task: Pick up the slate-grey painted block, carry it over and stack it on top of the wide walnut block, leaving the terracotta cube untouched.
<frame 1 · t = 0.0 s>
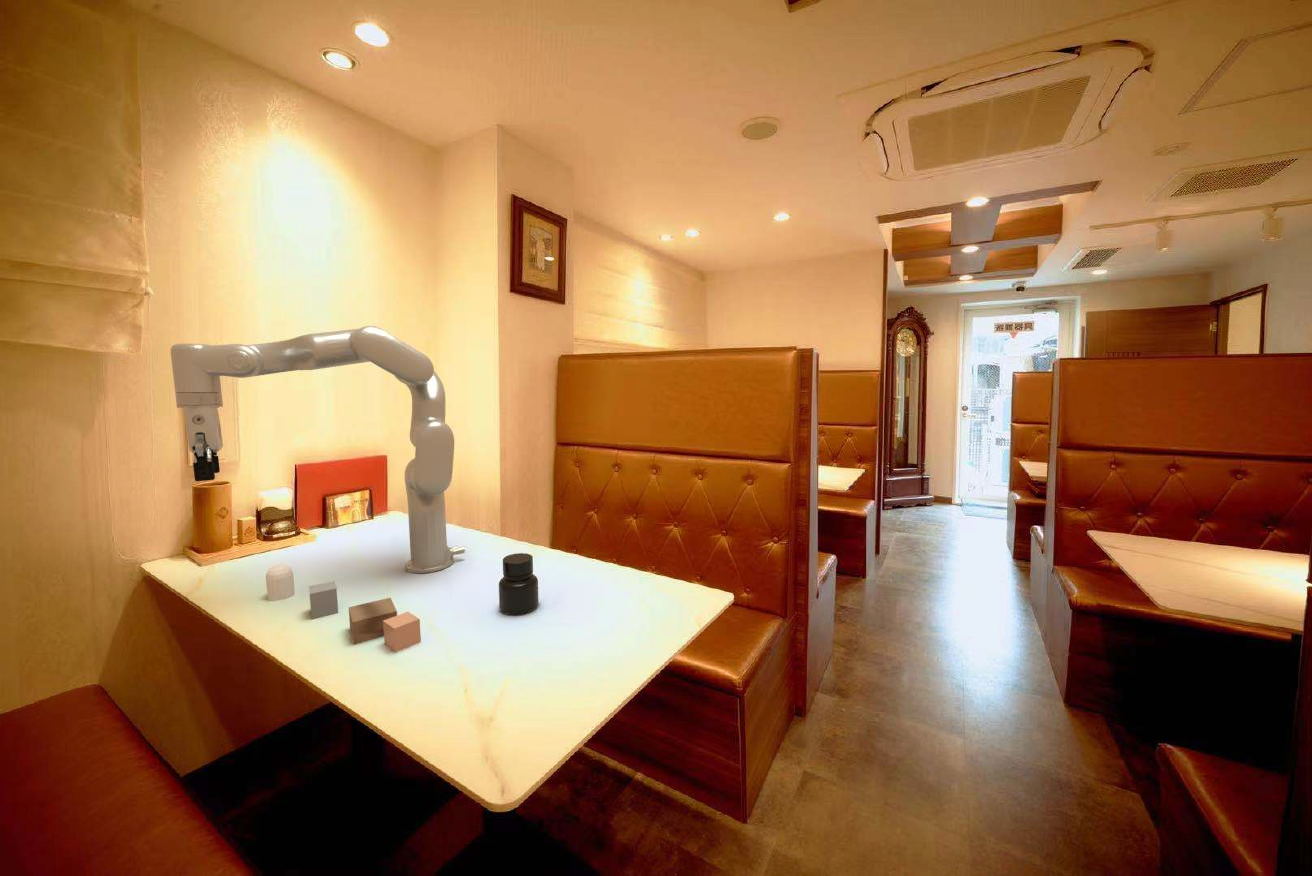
hand: (208, 476, 110), 31 cm above the table, fingers open, 9 cm apart
walnut block: (374, 631, 105), on the table
ink bottle: (519, 607, 116), on the table
grey block: (324, 612, 113), on the table
terracotta cube: (402, 643, 100), on the table
capsule: (281, 596, 121), on the table
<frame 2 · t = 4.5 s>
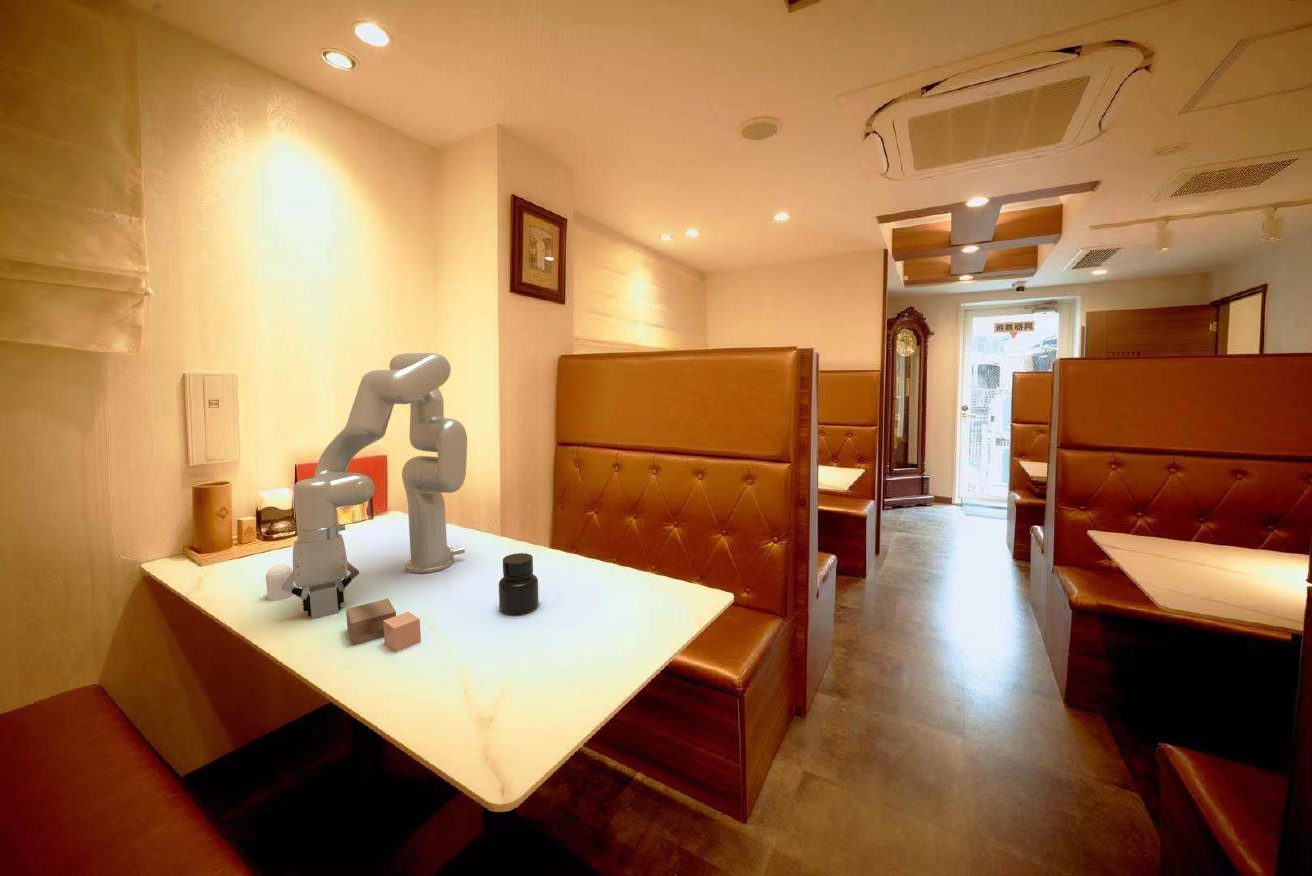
hand: (324, 609, 113), 1 cm above the table, fingers closed on grey block, 5 cm apart
grey block: (324, 612, 113), on the table, touching gripper
everything else where it was.
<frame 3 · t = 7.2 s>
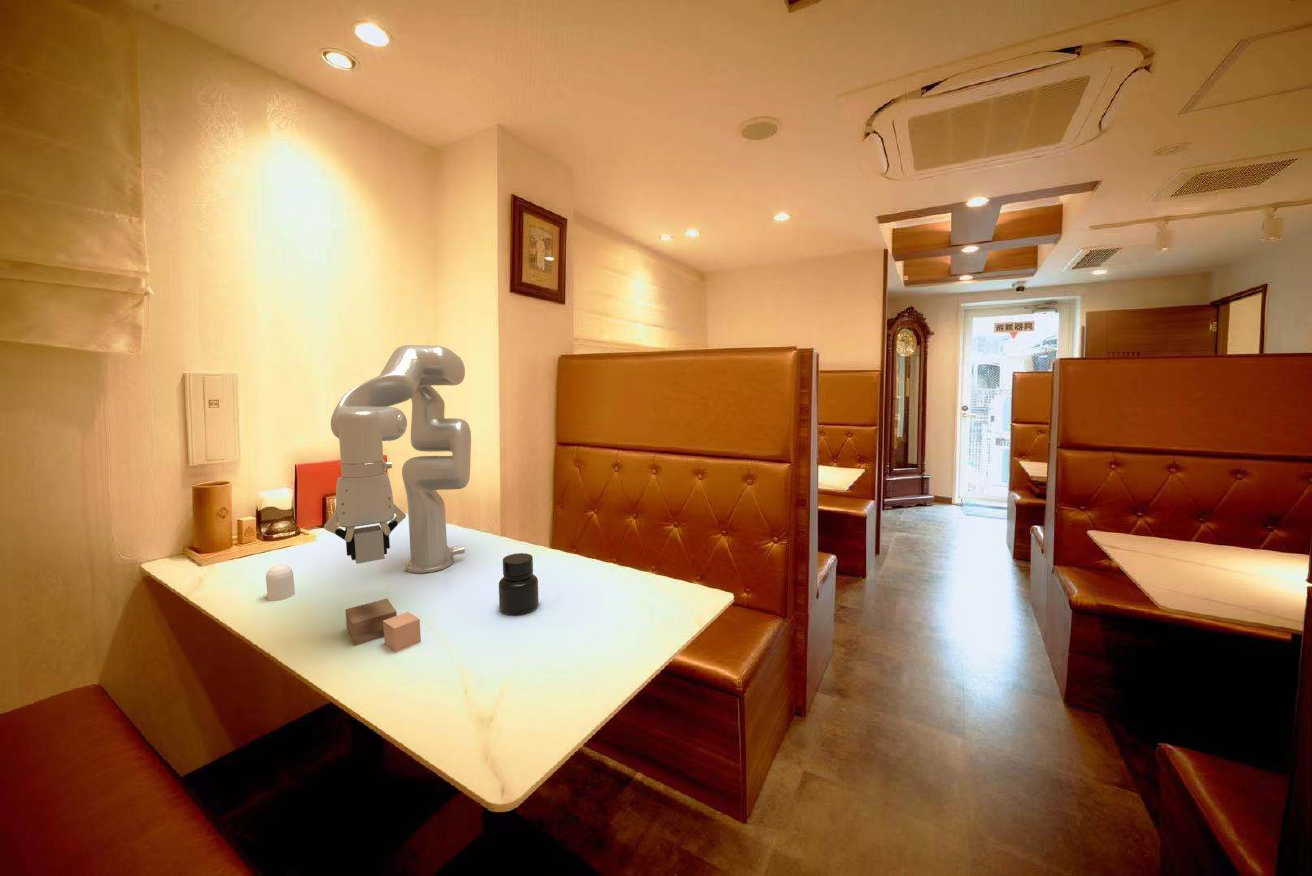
hand: (368, 554, 103), 17 cm above the table, fingers closed on grey block, 5 cm apart
grey block: (369, 557, 103), point 16 cm above the table, touching gripper
everything else where it was.
when the fingers open (6 cm above the table, at t = 10.3 s): grey block stays where it is, point 5 cm above the table.
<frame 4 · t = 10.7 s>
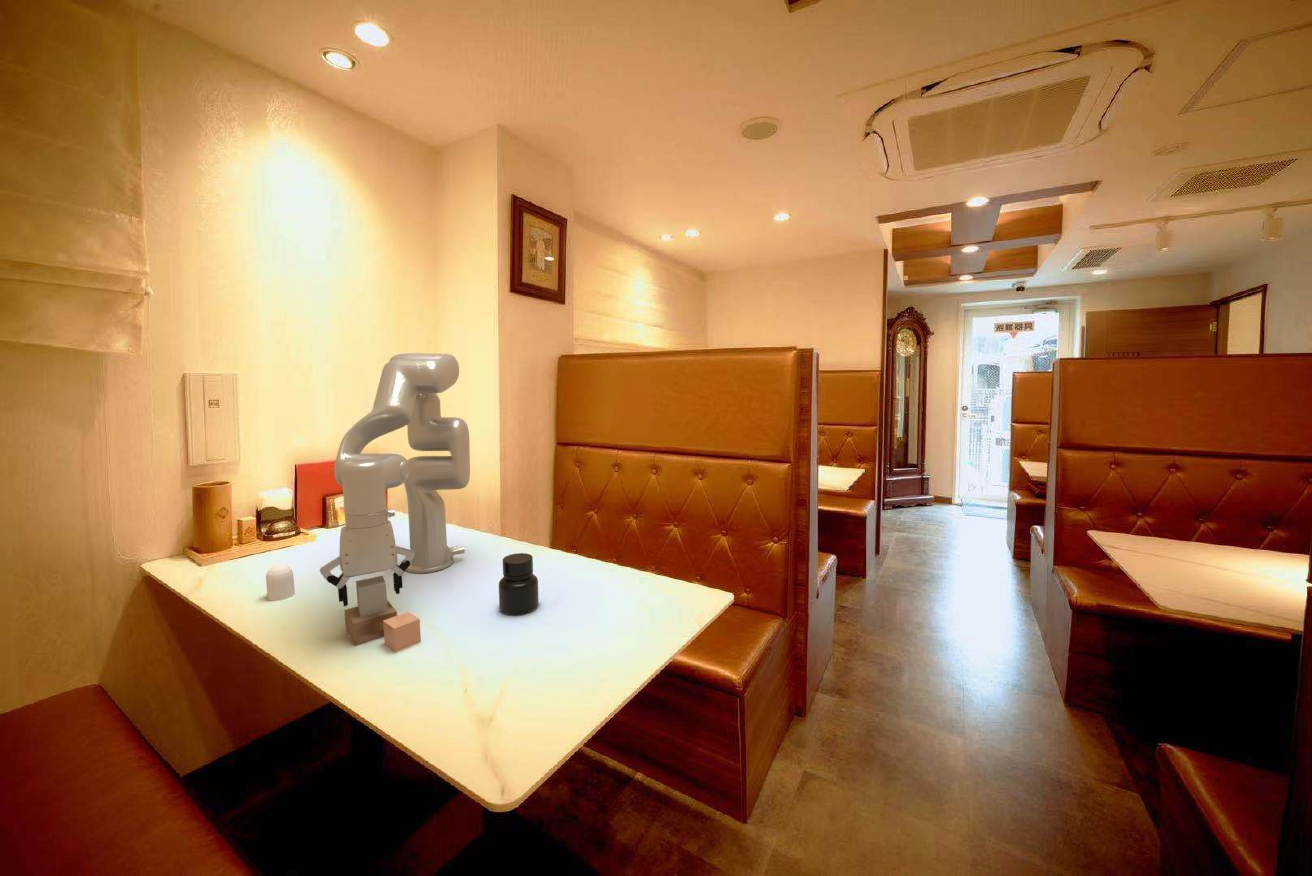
hand: (371, 597, 104), 7 cm above the table, fingers open, 9 cm apart
grey block: (372, 609, 104), point 5 cm above the table
everything else where it was.
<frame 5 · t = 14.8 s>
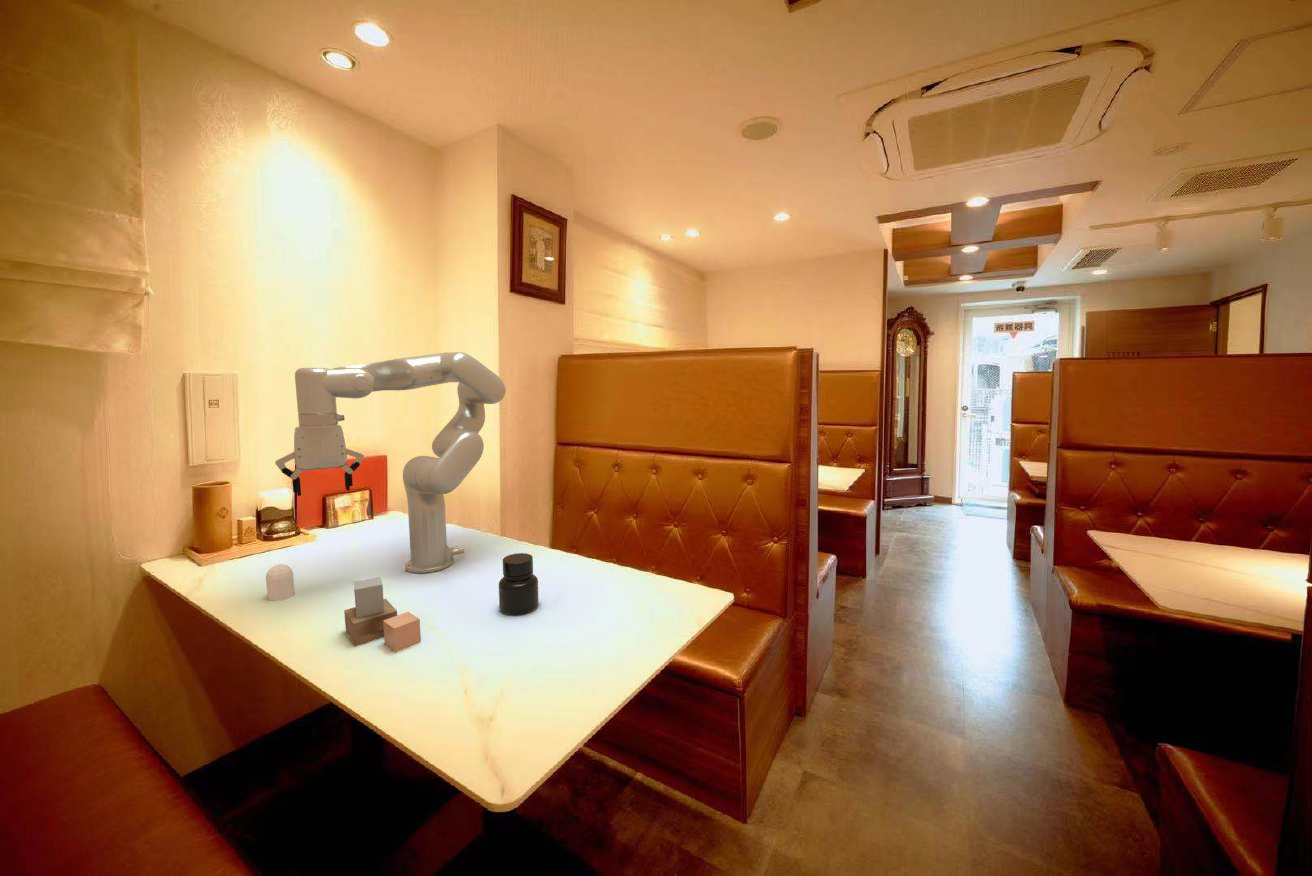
hand: (324, 492, 117), 26 cm above the table, fingers open, 9 cm apart
walnut block: (372, 632, 104), on the table, touching grey block
grey block: (369, 610, 104), point 5 cm above the table, touching walnut block
everything else where it was.
at the end: grey block inside the target area on the walnut block (0.1 cm from its centre), point 5.0 cm above the walnut block's base; grey block tilted 1°; the gripper is holding nothing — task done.
